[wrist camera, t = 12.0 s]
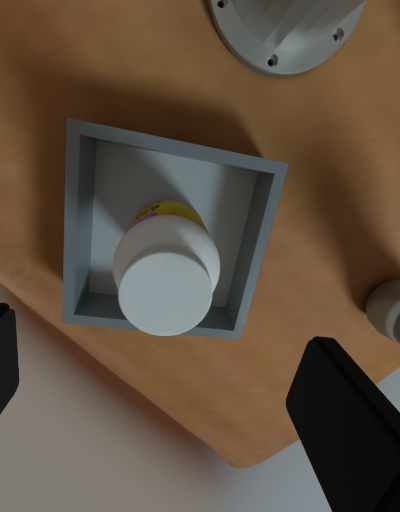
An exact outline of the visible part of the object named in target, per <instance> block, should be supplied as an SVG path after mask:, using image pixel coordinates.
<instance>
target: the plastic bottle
mask: <svg viewBox="0 0 400 512" xmlns="http://www.w3.org/2000/svg"><path fill="white" fill-rule="evenodd" d="M366 314H367V318H368V320H369V322H370V323H371V324H372V325H373V327H374V328H375V329H376V330H377V331H378V332H379V333H381V334H382V335H384V336H385V337H387V338H389V339H390V340H392V341H394V342H396V343H398V344H400V279H398V280H392V281H387V282H385V283H383V284H381V285H379V286H378V287H377V288H375V289H374V290H373V291H372V293H371V294H370V295H369V297H368V299H367V302H366Z"/></svg>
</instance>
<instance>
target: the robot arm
mask: <svg viewBox="0 0 400 512" xmlns="http://www.w3.org/2000/svg"><path fill="white" fill-rule="evenodd" d="M366 2H367V0H208V4H209V8H210V12H211V15H212V18H213V21H214V25H215V27H216V29H217V31H218V33H219V35H220V37H221V39H222V41H223V42H224V44H225V45H226V46H227V48H228V49H229V50H230V52H231V53H232V54H233V55H234V56H235V57H236V58H237V59H238V60H239V61H240V62H241V63H243V64H244V65H245V66H247V67H249V68H250V69H252V70H254V71H255V72H258V73H261V74H264V75H267V76H271V77H290V76H297V75H300V74H302V73H305V72H307V71H310V70H312V69H313V68H315V67H317V66H318V65H320V64H322V63H323V62H324V61H326V60H327V59H328V58H329V57H331V56H332V55H333V54H335V53H336V52H337V51H338V50H339V48H340V47H341V46H342V45H343V44H344V43H345V42H346V41H347V39H348V38H349V36H350V35H351V33H352V32H353V30H354V29H355V27H356V25H357V23H358V21H359V19H360V17H361V15H362V13H363V11H364V8H365V6H366ZM218 4H221V5H222V6H223V8H220V7H218ZM333 37H334V38H333ZM334 39H335V40H334ZM267 61H270V62H271V64H272V66H269V65H268V63H267ZM18 384H19V368H18V351H17V335H16V318H15V311H14V310H13V309H10V307H9V305H8V304H6V303H0V414H1V413H2V411H3V410H4V408H5V407H6V405H7V404H8V402H9V401H10V400H11V398H12V397H13V395H14V393H15V392H16V390H17V387H18ZM286 408H287V411H288V413H289V415H290V418H291V420H292V422H293V424H294V427H295V429H296V431H297V433H298V436H299V438H300V440H301V442H302V444H303V447H304V449H305V451H306V454H307V456H308V458H309V460H310V462H311V465H312V467H313V469H314V472H315V474H316V476H317V478H318V481H319V483H320V485H321V487H322V489H323V492H324V494H325V496H326V499H327V501H328V503H329V505H330V508H331V510H332V512H400V412H399V411H398V410H397V409H396V408H395V407H394V406H393V404H392V403H391V402H390V401H389V400H388V399H387V398H386V397H385V395H384V394H383V393H382V392H381V391H380V390H379V389H378V387H377V386H376V385H375V384H374V383H373V382H372V381H371V380H370V378H369V377H368V376H367V375H366V374H365V373H364V372H363V371H362V369H361V368H360V367H359V366H358V365H357V364H356V363H355V361H354V360H353V359H352V358H351V357H350V356H349V355H348V354H347V352H346V351H345V350H344V349H343V348H342V347H341V346H340V345H339V343H338V342H337V341H336V340H335V339H333V338H328V337H319V336H316V337H314V338H313V339H312V340H310V341H309V342H308V344H307V346H306V349H305V351H304V354H303V356H302V359H301V361H300V364H299V367H298V369H297V372H296V374H295V377H294V380H293V382H292V385H291V387H290V390H289V392H288V395H287V398H286Z"/></svg>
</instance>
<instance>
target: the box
mask: <svg viewBox="0 0 400 512" xmlns="http://www.w3.org/2000/svg"><path fill="white" fill-rule="evenodd" d="M288 166H289V163H284V162H279V161H275V160H270V159H265V158H260V157H255V156H250V155H246V154H241V153H236V152H231V151H226V150H221V149H217V148H212V147H207V146H202V145H197V144H192V143H188V142H183V141H178V140H173V139H168V138H163V137H159V136H154V135H149V134H144V133H139V132H134V131H130V130H125V129H120V128H115V127H110V126H106V125H101V124H96V123H91V122H86V121H81V120H77V119H72V118H67V117H66V157H65V209H64V261H63V312H62V323H71V324H81V325H91V326H102V327H112V328H123V329H133V330H140V329H138V328H137V327H135V326H134V325H133V324H131V323H130V322H129V320H128V319H127V318H126V317H125V315H124V314H123V312H122V310H121V308H120V305H119V301H118V288H117V286H116V283H115V280H114V275H113V258H114V254H115V251H116V248H117V246H118V244H119V242H120V240H121V239H122V237H123V236H124V235H125V233H126V232H127V230H128V229H129V227H130V226H131V224H132V223H133V221H134V220H135V218H136V217H137V215H138V214H139V213H140V211H141V210H142V209H143V208H144V207H145V206H147V205H148V204H150V203H152V202H154V201H156V200H160V199H166V198H170V199H177V200H180V201H183V202H185V203H187V204H189V205H190V206H191V207H193V208H194V209H195V210H196V211H197V213H198V214H199V216H200V217H201V219H202V221H203V223H204V225H205V227H206V229H207V231H208V232H209V234H210V236H211V238H212V240H213V242H214V244H215V246H216V248H217V251H218V254H219V259H220V275H219V279H218V282H217V285H216V287H215V289H214V291H213V293H212V301H211V305H210V308H209V310H208V312H207V314H206V315H205V317H204V318H203V319H202V320H201V321H200V322H199V323H198V324H197V325H196V326H195V327H193V328H192V329H190V330H188V331H186V332H183V333H180V334H185V335H196V336H206V337H217V338H227V339H238V340H241V338H242V334H243V330H244V327H245V323H246V319H247V316H248V312H249V309H250V305H251V301H252V298H253V294H254V290H255V287H256V283H257V279H258V276H259V272H260V268H261V265H262V261H263V257H264V254H265V250H266V246H267V243H268V239H269V235H270V232H271V228H272V224H273V221H274V217H275V213H276V210H277V206H278V203H279V199H280V195H281V192H282V188H283V184H284V181H285V177H286V173H287V170H288Z"/></svg>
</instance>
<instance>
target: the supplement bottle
mask: <svg viewBox="0 0 400 512" xmlns="http://www.w3.org/2000/svg"><path fill="white" fill-rule="evenodd" d="M113 275H114V280H115V283H116V286H117V288H118V301H119V305H120V308H121V310H122V312H123V314H124V315H125V317H126V318H127V319H128V320H129V322H130V323H131V324H133V325H134V326H135V327H137V328H138V329H140V330H142V331H144V332H146V333H149V334H153V335H159V336H171V335H177V334H180V333H183V332H186V331H188V330H190V329H192V328H193V327H195V326H196V325H197V324H198V323H199V322H200V321H201V320H202V319H203V318H204V317H205V315H206V314H207V312H208V310H209V308H210V305H211V301H212V293H213V291H214V289H215V287H216V285H217V282H218V279H219V275H220V259H219V254H218V251H217V248H216V246H215V244H214V242H213V240H212V238H211V236H210V234H209V232H208V231H207V229H206V227H205V225H204V223H203V221H202V219H201V217H200V216H199V214H198V213H197V211H196V210H195V209H194V208H193V207H191V206H190V205H189V204H187V203H185V202H183V201H180V200H177V199H170V198H166V199H160V200H156V201H154V202H152V203H150V204H148V205H147V206H145V207H144V208H143V209H142V210H141V211H140V213H139V214H138V215H137V217H136V218H135V220H134V221H133V223H132V224H131V226H130V227H129V229H128V230H127V232H126V233H125V235H124V236H123V237H122V239H121V240H120V242H119V244H118V246H117V248H116V251H115V254H114V258H113Z"/></svg>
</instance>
